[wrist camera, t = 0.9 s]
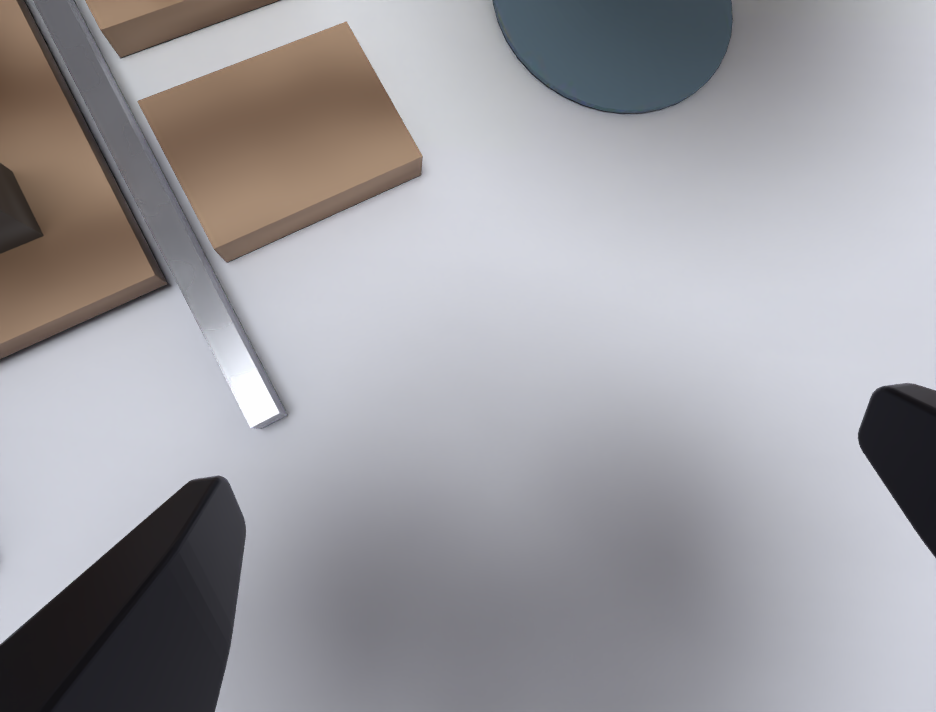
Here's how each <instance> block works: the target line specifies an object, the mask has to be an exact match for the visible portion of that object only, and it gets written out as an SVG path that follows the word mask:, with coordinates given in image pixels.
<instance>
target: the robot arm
mask: <svg viewBox="0 0 936 712" xmlns="http://www.w3.org/2000/svg"><path fill="white" fill-rule="evenodd" d="M858 441H859V445H860V447H861V449H862V451H863V453H864V454H865V456H866V457H867V459H868V460H869V462H870V463H871V465H872V466H873V468H874V469H875V471H876V472H877V474H878V475H879V477H880V478H881V480H882V481H883V483H884V484H885V486H886V487H887V489H888V490H889V492H890V493H891V495H892V496H893V498H894V499H895V501H896V502H897V504H898V505H899V507H900V508H901V510H902V511H903V513H904V514H905V516H906V517H907V519H908V520H909V522H910V523H911V525H912V526H913V528H914V529H915V531H916V532H917V533H918V535H919V536H920V538H921V539H922V541H923V542H924V543H925V545H926V546H927V547H928V549H929V550H930V551H931V553H932V554H933V555H934V556H935V558H936V391H935V390H932V389H929V388H926V387H922V386H919V385H916V384H911V383H903V384H895V385H888V386H882V387H880V388H877V389H876V390H875V391H874V392H873V394H872V396H871V398H870V401H869V404H868V406H867V409H866V412H865V415H864V417H863V420H862V423H861V426H860V428H859V432H858ZM245 537H246V526H245V520H244V517H243V514H242V512H241V510H240V507H239V505H238V503H237V500H236V498H235V495H234V493H233V491H232V488H231V486H230V484H229V482H228V480H227V479H226V478H224V477H222V476H213V477H206V478H198V479H194V480H191V481H189V482H188V483H187V484H185V485H184V486H183V487H182V488H181V489H180V490H178V491H177V492H176V493H175V494H174V495H173V496H171V497H170V498H169V499H168V500H167V501H166V502H165V503H163V504H162V505H161V506H160V507H159V508H158V509H156V510H155V511H154V512H153V513H152V514H151V515H149V516H148V517H147V518H146V519H145V520H144V521H143V522H141V523H140V524H139V525H138V526H137V527H136V528H134V529H133V530H132V531H131V532H130V533H129V534H128V535H126V536H125V537H124V538H123V539H122V540H121V541H119V542H118V543H117V544H116V545H115V546H114V547H112V548H111V549H110V550H109V551H108V552H107V553H106V554H104V555H103V556H102V557H101V558H100V559H99V560H97V561H96V562H95V563H94V564H93V565H92V566H91V567H89V568H88V569H87V570H86V571H85V572H84V573H82V574H81V575H80V576H79V577H78V578H77V579H75V580H74V581H73V582H72V583H71V584H70V585H69V586H67V587H66V588H65V589H64V590H63V591H62V592H60V593H59V594H58V595H57V596H56V597H55V598H54V599H52V600H51V601H50V602H49V603H48V604H47V605H45V606H44V607H43V608H42V609H41V610H40V611H38V612H37V613H36V614H35V615H34V616H33V617H32V618H30V619H29V620H28V621H27V622H26V623H25V624H23V625H22V626H21V627H20V628H19V629H18V630H17V631H15V632H14V633H13V634H12V635H11V636H10V637H8V638H7V639H6V640H5V641H4V642H3V643H1V644H0V712H215V709H216V705H217V701H218V697H219V692H220V688H221V684H222V680H223V676H224V672H225V668H226V664H227V659H228V655H229V650H230V645H231V639H232V633H233V626H234V619H235V611H236V604H237V597H238V589H239V582H240V574H241V567H242V560H243V552H244V545H245Z"/></svg>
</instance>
